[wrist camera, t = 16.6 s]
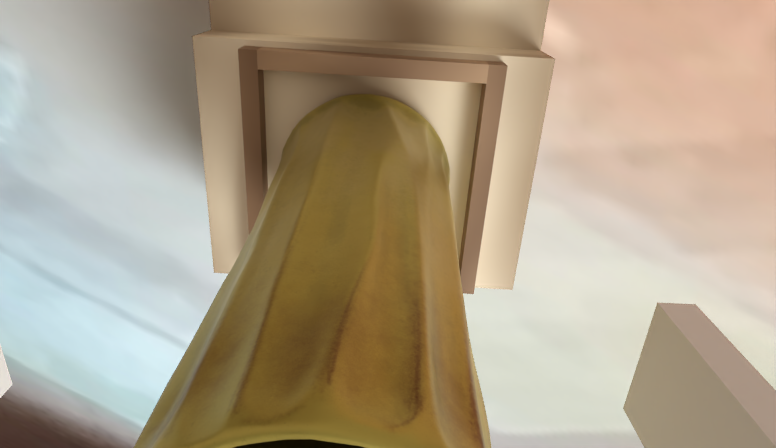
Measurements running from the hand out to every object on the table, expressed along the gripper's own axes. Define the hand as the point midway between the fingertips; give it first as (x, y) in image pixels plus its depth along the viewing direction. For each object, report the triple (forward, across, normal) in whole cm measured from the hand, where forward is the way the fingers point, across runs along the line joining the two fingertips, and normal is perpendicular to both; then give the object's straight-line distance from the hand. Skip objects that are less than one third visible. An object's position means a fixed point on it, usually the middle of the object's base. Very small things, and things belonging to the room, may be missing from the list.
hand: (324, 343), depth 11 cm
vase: (+10, 0, 0) cm, 10 cm away
